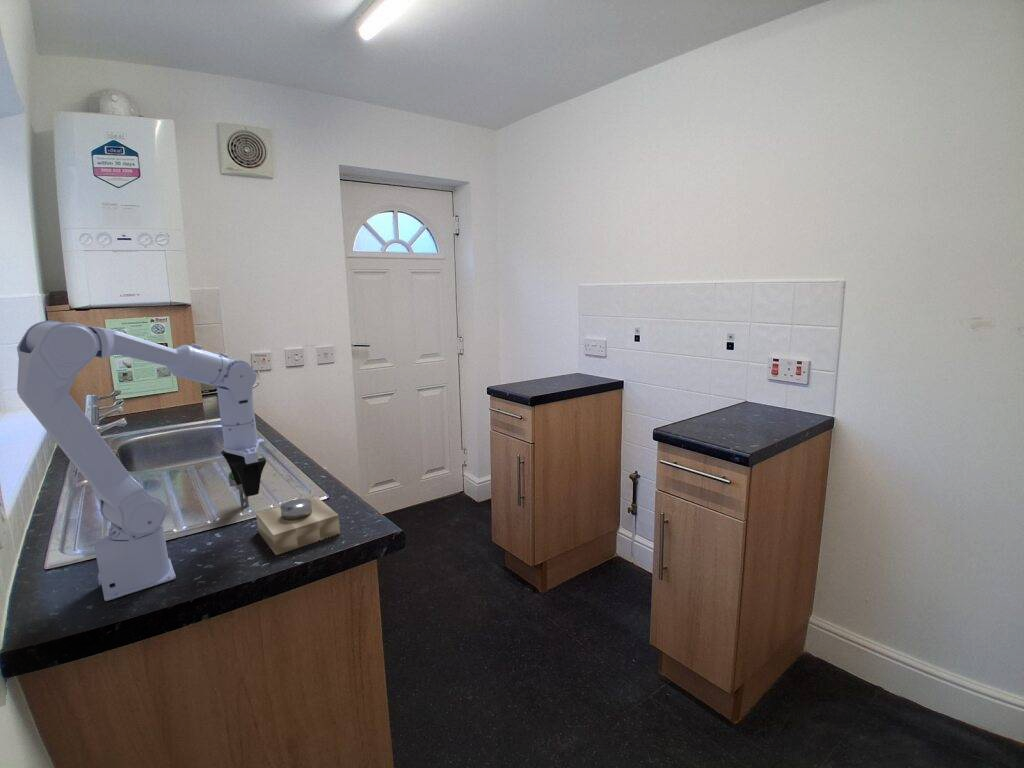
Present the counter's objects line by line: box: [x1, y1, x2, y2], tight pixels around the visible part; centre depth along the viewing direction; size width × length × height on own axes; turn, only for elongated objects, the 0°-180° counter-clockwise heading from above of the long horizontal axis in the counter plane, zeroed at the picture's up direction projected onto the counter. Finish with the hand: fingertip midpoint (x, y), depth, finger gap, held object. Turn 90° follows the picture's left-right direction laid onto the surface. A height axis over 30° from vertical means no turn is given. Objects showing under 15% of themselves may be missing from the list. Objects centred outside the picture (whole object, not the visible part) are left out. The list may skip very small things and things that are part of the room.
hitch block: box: [255, 496, 341, 556], centre depth 100 cm, size 12×12×4 cm
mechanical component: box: [228, 471, 250, 509], centre depth 113 cm, size 3×10×10 cm, turn 16°
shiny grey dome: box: [279, 498, 312, 521], centre depth 100 cm, size 6×6×6 cm
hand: (247, 489), depth 99 cm, fingers open, 7 cm apart
